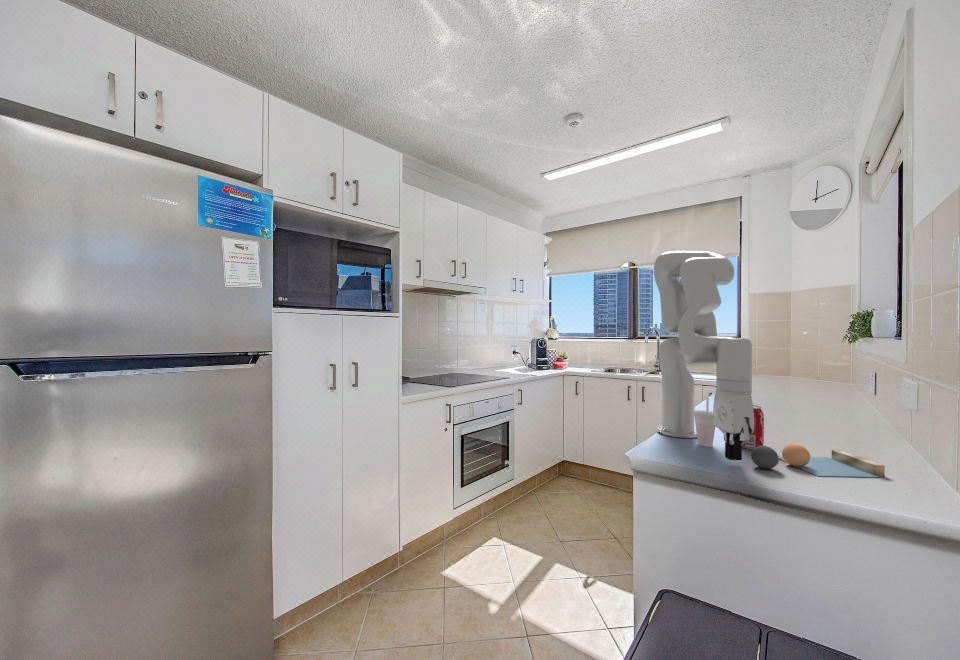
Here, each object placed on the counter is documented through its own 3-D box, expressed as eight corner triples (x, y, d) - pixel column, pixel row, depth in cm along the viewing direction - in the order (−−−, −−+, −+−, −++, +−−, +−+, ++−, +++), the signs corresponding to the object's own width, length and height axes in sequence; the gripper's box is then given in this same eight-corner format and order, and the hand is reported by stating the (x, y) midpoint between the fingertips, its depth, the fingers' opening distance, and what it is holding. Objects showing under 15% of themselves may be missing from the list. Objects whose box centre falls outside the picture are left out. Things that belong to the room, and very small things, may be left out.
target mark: (774, 456, 105) (774, 456, 105) (828, 457, 104) (828, 457, 104) (817, 476, 91) (817, 475, 91) (880, 477, 90) (880, 476, 90)
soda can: (754, 443, 117) (754, 404, 117) (769, 451, 110) (769, 408, 110) (729, 443, 117) (729, 403, 117) (743, 450, 110) (743, 408, 110)
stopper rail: (831, 459, 103) (831, 449, 103) (839, 459, 103) (839, 449, 103) (875, 476, 91) (875, 465, 91) (884, 476, 91) (884, 465, 91)
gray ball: (775, 442, 96) (771, 460, 98) (750, 439, 98) (746, 457, 100) (784, 457, 92) (779, 475, 94) (757, 453, 93) (753, 472, 95)
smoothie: (713, 449, 111) (713, 400, 111) (689, 444, 115) (689, 397, 115) (721, 445, 115) (721, 398, 115) (697, 440, 120) (698, 395, 120)
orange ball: (776, 441, 100) (798, 441, 100) (776, 462, 100) (798, 462, 100) (792, 447, 95) (816, 447, 95) (793, 469, 95) (816, 470, 95)
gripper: (702, 382, 106) (702, 449, 106) (736, 391, 91) (736, 469, 91) (731, 382, 105) (730, 450, 105) (769, 391, 91) (769, 470, 91)
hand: (733, 458), depth 98 cm, fingers closed
